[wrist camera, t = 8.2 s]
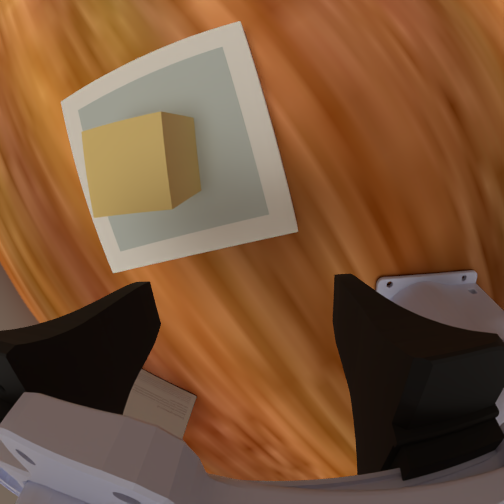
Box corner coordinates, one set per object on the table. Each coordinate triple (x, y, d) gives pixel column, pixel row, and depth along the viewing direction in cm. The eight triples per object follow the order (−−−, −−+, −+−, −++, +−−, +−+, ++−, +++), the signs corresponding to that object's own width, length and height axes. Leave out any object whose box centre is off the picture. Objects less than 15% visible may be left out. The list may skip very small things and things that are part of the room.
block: (193, 117, 17) (160, 111, 12) (201, 190, 19) (172, 209, 14) (128, 130, 18) (81, 131, 13) (136, 197, 19) (93, 218, 14)
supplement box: (133, 362, 27) (76, 458, 16) (199, 395, 28) (164, 501, 16) (121, 398, 30) (76, 480, 18) (177, 426, 31) (146, 514, 19)
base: (244, 31, 16) (240, 20, 14) (297, 223, 21) (298, 232, 19) (76, 102, 19) (60, 101, 17) (124, 263, 23) (112, 273, 21)
